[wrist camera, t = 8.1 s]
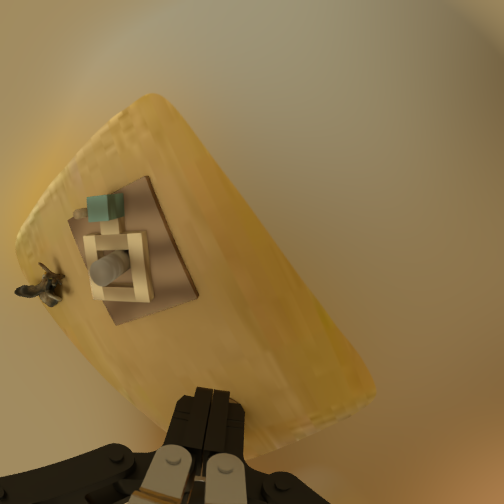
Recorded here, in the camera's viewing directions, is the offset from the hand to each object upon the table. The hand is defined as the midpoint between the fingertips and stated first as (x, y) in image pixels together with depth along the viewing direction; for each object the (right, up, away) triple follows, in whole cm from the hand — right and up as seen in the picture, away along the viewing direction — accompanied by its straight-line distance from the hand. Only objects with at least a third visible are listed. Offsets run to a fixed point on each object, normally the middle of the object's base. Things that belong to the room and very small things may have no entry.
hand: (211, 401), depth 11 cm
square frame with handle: (-16, +7, +23) cm, 29 cm away
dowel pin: (-20, +12, +21) cm, 32 cm away
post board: (-15, +6, +24) cm, 29 cm away
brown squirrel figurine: (-31, +2, +26) cm, 41 cm away
